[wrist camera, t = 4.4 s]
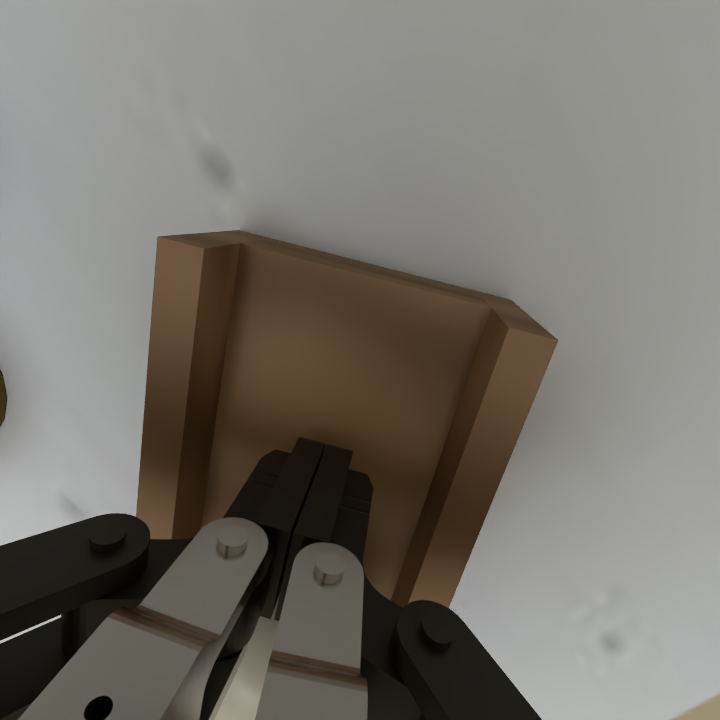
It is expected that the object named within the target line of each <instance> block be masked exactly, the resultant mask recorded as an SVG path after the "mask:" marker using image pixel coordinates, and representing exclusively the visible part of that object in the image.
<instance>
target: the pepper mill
mask: <svg viewBox="0 0 720 720" xmlns="http://www.w3.org/2000/svg"><path fill="white" fill-rule="evenodd" d="M6 401H7V396H6V391H5V387H4V382H3V377H2V373H1V371H0V426H1V424H2V422H3V420H4V417H5V409H6Z"/></svg>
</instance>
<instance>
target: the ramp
mask: <svg viewBox="0 0 720 720" xmlns="http://www.w3.org/2000/svg"><path fill="white" fill-rule="evenodd" d="M557 342H558V340H557V339H556V338H555V337H554V336H552V335H551V334H550V333H549V332H548V331H547V330H545V329H544V328H543V327H542V326H541V325H540V324H538V323H537V322H536V321H535V320H534V319H532V318H531V317H530V316H529V315H528V314H527V313H525V312H524V311H523V310H522V309H521V308H520V307H518V306H517V305H516V304H515V303H514V302H512V301H511V300H508V299H504V298H500V297H496V296H492V295H488V294H484V293H481V292H477V291H473V290H469V289H465V288H461V287H457V286H453V285H449V284H445V283H442V282H438V281H434V280H430V279H426V278H422V277H418V276H414V275H410V274H407V273H403V272H399V271H395V270H391V269H387V268H383V267H379V266H375V265H371V264H368V263H364V262H360V261H356V260H352V259H348V258H344V257H340V256H336V255H333V254H329V253H325V252H321V251H317V250H313V249H309V248H305V247H301V246H298V245H294V244H290V243H286V242H282V241H278V240H274V239H270V238H266V237H262V236H259V235H255V234H251V233H247V232H243V231H239V230H237V231H224V232H211V233H198V234H185V235H172V236H159V237H158V238H157V251H156V264H155V277H154V290H153V303H152V316H151V330H150V343H149V356H148V369H147V382H146V395H145V408H144V421H143V434H142V447H141V460H140V473H139V487H138V500H137V513H136V517H137V518H139V519H141V520H142V521H143V522H145V523H146V525H147V526H148V528H149V530H150V539H187V538H193V537H195V536H196V535H197V533H198V532H199V531H200V530H201V529H202V528H203V527H204V526H206V525H207V524H209V523H210V522H212V521H215V520H218V519H222V518H223V517H224V515H225V514H226V512H227V511H228V509H229V508H230V506H231V504H232V503H233V501H234V500H235V498H236V497H237V495H238V493H239V492H240V490H241V489H242V487H243V486H244V484H245V482H247V479H248V478H249V476H250V475H251V473H252V472H253V471H254V468H255V467H256V465H257V463H258V462H259V460H260V459H261V457H263V456H265V455H266V454H268V453H270V452H271V451H273V450H275V449H277V450H280V451H284V452H288V453H291V452H292V450H293V448H294V446H295V444H296V442H297V440H298V438H299V437H304V438H307V439H311V440H315V441H319V442H322V443H325V444H326V445H325V449H326V447H327V444H330V445H334V446H337V447H341V448H345V449H349V450H352V451H353V454H352V457H351V461H350V465H349V469H351V470H354V471H358V472H362V473H365V474H368V476H369V479H370V481H371V483H372V485H373V495H372V502H371V509H370V514H369V522H368V529H367V536H366V543H365V550H364V557H363V567H364V571H365V574H366V576H367V578H368V580H369V582H370V583H371V584H372V586H373V587H374V588H375V589H376V590H377V591H378V592H379V593H380V594H382V595H383V596H384V597H386V598H387V599H389V600H391V601H392V602H394V603H395V604H397V605H399V606H400V607H402V608H403V607H404V606H406V605H407V604H409V603H410V602H413V601H417V600H429V601H433V602H437V603H439V604H442V605H444V606H445V607H447V608H449V605H450V603H451V601H452V598H453V596H454V593H455V591H456V588H457V586H458V583H459V581H460V579H461V576H462V574H463V571H464V569H465V566H466V564H467V562H468V559H469V557H470V554H471V552H472V549H473V547H474V544H475V542H476V540H477V537H478V535H479V532H480V530H481V527H482V525H483V522H484V520H485V518H486V515H487V513H488V510H489V508H490V505H491V503H492V501H493V498H494V496H495V493H496V491H497V488H498V486H499V483H500V481H501V479H502V476H503V474H504V471H505V469H506V466H507V464H508V461H509V459H510V457H511V454H512V452H513V449H514V447H515V444H516V442H517V440H518V437H519V435H520V432H521V430H522V427H523V425H524V422H525V420H526V418H527V415H528V413H529V410H530V408H531V405H532V403H533V400H534V398H535V396H536V393H537V391H538V388H539V386H540V383H541V381H542V379H543V376H544V374H545V371H546V369H547V366H548V364H549V361H550V359H551V357H552V354H553V352H554V349H555V347H556V344H557ZM324 452H325V450H324Z"/></svg>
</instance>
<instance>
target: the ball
mask: <svg viewBox="0 0 720 720" xmlns="http://www.w3.org/2000/svg"><path fill="white" fill-rule="evenodd" d="M278 600H279V598H278ZM278 600H277V603H276V606H275V609H274V612H273V614H272V617H271V619H268V618H265V617H261V616H260V617H259V620H258V622H257V625H256V628H255V630H254V633H253V635H252V637H251V639H250V641H249V642H248V647H247V650H246V653H245V655H244V658H243V660H242V662H241V664H240V666H239V668H238V670H237V672H236V675H235V677H234V679H233V681H232V683H231V685H230V687H229V689H228V692H227V694H226V696H225V698H224V700H223V702H222V704H221V706H220V708H219V711H218V713H217V715H216V717H215V719H214V720H255V717H256V713H257V709H258V705H259V701H260V697H261V693H262V688H263V684H264V680H265V676H266V672H267V668H268V664H269V660H270V657H271V653H272V649H273V645H274V641H275V636H276V632H277V628H278V624H279V621H276V620H274V617H275V613H276V609H277V604H278Z"/></svg>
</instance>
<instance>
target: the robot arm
mask: <svg viewBox="0 0 720 720" xmlns="http://www.w3.org/2000/svg"><path fill="white" fill-rule="evenodd" d="M325 445H326V444H325V443H322V442H319V441H315V440H311V439H307V438H304V437H299V438H298V440H297V442H296V444H295V446H294V448H293V450H292V452H291V453H288V452H284V451H280V450H277V449H275V450H273V451H271V452H270V453H268V454H266V455H265V456H263V457H261V459H260V460H259V462H258V463H257V465H256V467H255V468H254V471H253V472H252V473H251V475H250V476H249V478H248V479H247V482H245V484H244V486H243V487H242V489H241V490H240V492H239V493H238V495H237V497H236V498H235V500H234V501H233V503H232V504H231V506H230V508H229V509H228V511H227V512H226V514H225V515H224V517H223V518H222V519H218V520H215V521H212V522H210V523H209V524H207V525H206V526H204V527H203V528H202V529H201V530H200V531H199V532H198V533H197V535H196V536H195V537H193V538H187V539H150V530H149V528H148V526H147V525H146V523H145V522H143V521H142V520H141V519H139V518H137V517H135V516H132V515H127V514H118V513H115V514H105V515H100V516H96V517H93V518H89V519H86V520H83V521H80V522H76V523H73V524H70V525H67V526H63V527H60V528H57V529H54V530H50V531H47V532H44V533H41V534H37V535H34V536H31V537H28V538H24V539H21V540H18V541H15V542H11V543H8V544H5V545H2V546H0V640H3V639H5V638H7V637H10V636H12V635H14V634H17V633H19V632H21V631H24V630H26V629H28V628H31V627H33V626H35V625H38V624H40V623H42V622H45V621H47V620H49V619H51V618H54V617H56V616H58V615H61V618H59V619H56V620H54V621H52V622H49V623H47V624H45V625H42V626H40V627H38V628H36V629H33V630H31V631H29V632H26V633H24V634H22V635H19V636H17V637H15V638H13V639H10V640H8V641H6V642H3V643H1V644H0V720H214V719H215V717H216V715H217V713H218V711H219V708H220V706H221V704H222V702H223V700H224V698H225V696H226V694H227V692H228V689H229V687H230V685H231V683H232V681H233V679H234V677H235V675H236V672H237V670H238V668H239V666H240V664H241V662H242V660H243V658H244V655H245V653H246V650H247V647H248V642H249V641H250V639H251V637H252V635H253V633H254V630H255V628H256V625H257V622H258V620H259V617H260V616H261V617H265V618H268V619H271V617H272V614H273V612H274V609H275V606H276V603H277V600H278V598H279V600H278V604H277V609H276V613H275V617H274V620H276V621H279V624H278V628H277V632H276V636H275V641H274V645H273V649H272V653H271V657H270V660H269V664H268V668H267V672H266V676H265V680H264V684H263V688H262V693H261V697H260V701H259V705H258V709H257V713H256V717H255V720H542V719H541V718H540V717H539V716H538V714H537V713H536V712H535V711H534V709H533V708H532V707H531V706H530V704H529V703H528V702H527V701H526V699H525V698H524V697H523V696H522V694H521V693H520V692H519V691H518V689H517V688H516V687H515V686H514V684H513V683H512V682H511V681H510V679H509V678H508V677H507V676H506V674H505V673H504V672H503V671H502V669H501V668H500V667H499V666H498V664H497V663H496V662H495V661H494V659H493V658H492V657H491V656H490V654H489V653H488V652H487V651H486V649H485V648H484V647H483V646H482V644H481V643H480V642H479V641H478V639H477V638H476V637H475V636H474V634H473V633H472V632H471V631H470V629H469V628H468V627H467V626H466V624H465V623H464V622H463V621H462V620H461V619H460V617H459V616H458V615H456V614H455V613H454V612H453V611H452V610H450V609H449V608H447V607H445V606H444V605H442V604H439V603H437V602H433V601H429V600H417V601H413V602H410V603H409V604H407V605H406V606H404V607H403V608H402V607H400V606H399V605H397V604H395V603H394V602H392V601H391V600H389V599H387V598H386V597H384V596H383V595H382V594H380V593H379V592H378V591H377V590H376V589H375V588H374V587H373V586H372V584H371V583H370V582H369V580H368V578H367V576H366V574H365V571H364V567H363V557H364V550H365V543H366V536H367V529H368V522H369V514H370V509H371V502H372V495H373V485H372V483H371V481H370V479H369V476H368V474H365V473H362V472H358V471H354V470H351V469H349V465H350V461H351V457H352V454H353V451H352V450H349V449H345V448H341V447H337V446H334V445H330V444H327V447H326V449H325ZM324 450H325V452H324Z"/></svg>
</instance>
